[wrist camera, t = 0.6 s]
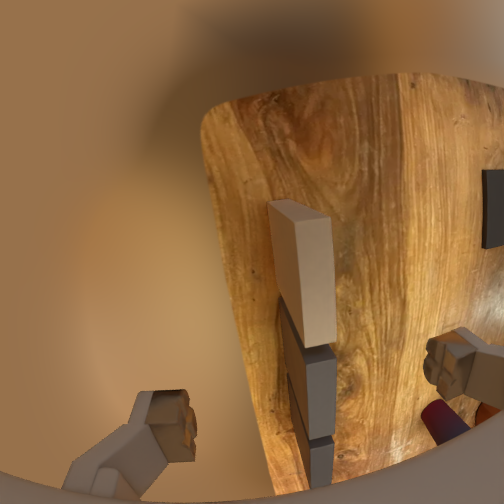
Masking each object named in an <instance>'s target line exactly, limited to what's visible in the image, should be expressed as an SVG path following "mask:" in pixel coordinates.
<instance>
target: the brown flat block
mask: <svg viewBox="0 0 504 504" xmlns="http://www.w3.org/2000/svg"><path fill="white" fill-rule="evenodd" d="M267 208H268V215H269V223H270V231H271V239H272V248H273V256H274V264H275V273H276V281H277V286H278V288H279V290H280V293H281V295H282V297H283V299H284V302H285V304H286V306H287V308H288V311H289V313H290V315H291V317H292V320H293V322H294V324H295V326H296V329H297V331H298V333H299V336H300V338H301V340H302V342H303V345H304V347H305V348H308V347H313V346H318V345H323V344H327V343H332V342H336V341H337V330H336V293H335V272H334V254H333V239H332V226H331V217H329V216H327V215H325V214H322V213H320V212H318V211H316V210H314V209H311V208H309V207H307V206H305V205H303V204H300V203H298V202H296V201H293V200H291V199H283V200H275V201H268V202H267Z"/></svg>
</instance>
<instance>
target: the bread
mask: <svg viewBox="0 0 504 504" xmlns="http://www.w3.org/2000/svg"><path fill="white" fill-rule="evenodd" d="M500 411H501V410H500V409H497V408H495V407H493V406H490V405H488V404H485V403H482V404H481V405H480V407H479V409H478V412H477V416H476V426H477V425H479V424H480V423H482V422H484V421H485V420H487V419H489V418H490V417H492V416H494V415H495V414H497V413H498V412H500Z"/></svg>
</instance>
